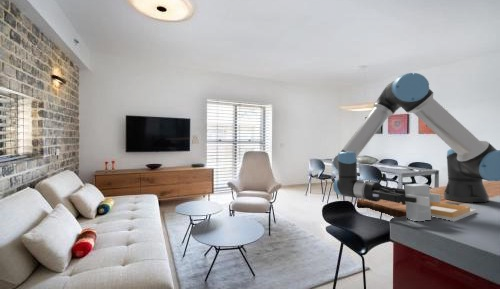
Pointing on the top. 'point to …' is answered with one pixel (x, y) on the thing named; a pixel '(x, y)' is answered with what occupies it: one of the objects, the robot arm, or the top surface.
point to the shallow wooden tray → (450, 211)
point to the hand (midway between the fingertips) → (434, 200)
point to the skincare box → (416, 210)
